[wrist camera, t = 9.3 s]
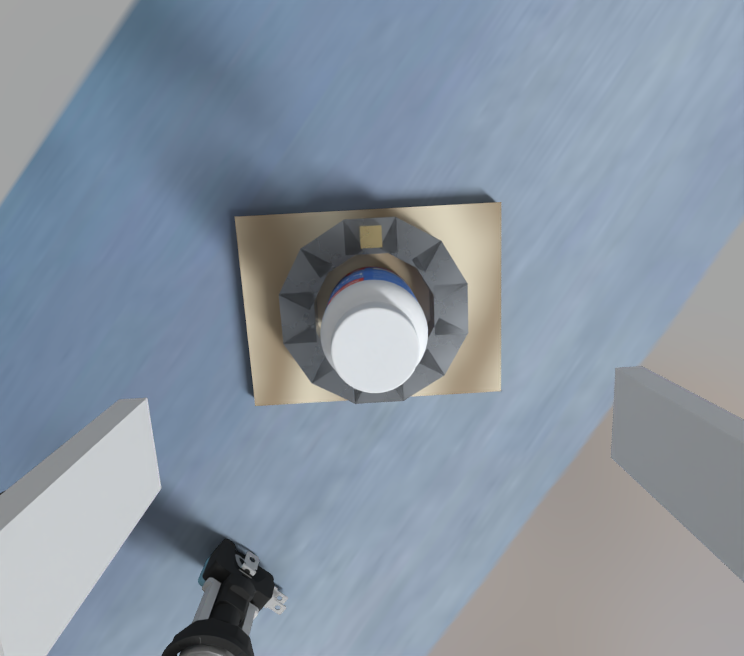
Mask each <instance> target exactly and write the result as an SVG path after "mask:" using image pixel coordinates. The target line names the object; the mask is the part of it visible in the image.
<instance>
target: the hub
mask: <svg viewBox="0 0 744 656" xmlns="http://www.w3.org/2000/svg"><path fill="white" fill-rule="evenodd" d="M381 253H389V254H391V255H393V256H395V257H397V258H398V259H400V260H402V261H404V262H406V263H408V264H410V265H412V266H414V267H415V268H416V270H417V271H418V273H419V275H420V276H421V278H422V279H423V281H424V282H425V284H426V286H427V287H428V289H429V303H430V320H429V322H428V324H427V326H428V341H427V346H426V350H425V352H424V355H423V357H422V359H421V360H420V362H419V364H418V365H417V366H416V368H415V370H414V372H413V373H412V375H411V376H410V377H409V378H408V379H407V380H406V381H405V382H404V383H403V384H402V385H400V386H399V387H397V388H395V389H393V390H390V391H387V392H382V393H368V392H363V391H360V390H357V389H355V388H353V387H351V386H350V385H348V384H347V383H346V382H345V381H344V380H343V379H342V378H341V377H340V376H339V375H338V373H337V372H336V371H335V370H334V369H333V367H332V366H331V365H330V363H329V362H328V360H327V358H326V356H325V354H324V352H323V348H322V345H321V336H320V331H321V328H320V327H319V321H318V308H317V294H318V292H319V290H320V288H321V286H322V284H323V282H324V280H325V278H326V276H327V274H328V273H329V272H330V271H332V270H333V269H335V268H336V267H338V266H339V265H341V264H342V263H344V262H345V261H347V260H348V259H350V258H351V257H353V256H354V255H363V254H381ZM279 303H280V314H281V325H282V335H283V344H284V345H285V347H286V348H287V350H288V351H289V352H290V354H291V355H292V357H293V358H294V359H295V361H296V362H297V364H298V365H299V366H300V368H301V369H302V371H303V372H304V373H305V375H306V376H307V378H308V379H309V380H310V382H311V383H312V384H314V385H316V386H319V387H321V388H323V389H325V390H327V391H329V392H331V393H333V394H336V395H338V396H340V397H342V398H344V399H346V400H348V401H351V402H353V403H355V404H359V403H376V402H392V401H404V400H406V399H407V398H409V397H411V396H412V395H414V394H415V393H417V392H419V391H420V390H422V389H423V388H425V387H427V386H428V385H430V384H431V383H433V382H435V381H436V380H438V379H440V378H441V377H443V376H445V374H446V372H447V370H448V368H449V367H450V365H451V363H452V361H453V359H454V358H455V356H456V354H457V352H458V351H459V349H460V347H461V345H462V343H463V342H464V340H465V338H466V336H467V334H468V333H469V332H468V283H467V282H466V280H465V278H464V277H463V275H462V274H461V272H460V270H459V269H458V267H457V265H456V264H455V262H454V260H453V259H452V257H451V256H450V254H449V252H448V251H447V249H446V247H445V246H444V244H443V242H442V241H441V240H439V239H437V238H435V237H433V236H431V235H429V234H428V233H426V232H424V231H422V230H420V229H418V228H416V227H414V226H412V225H410V224H408V223H406V222H405V221H403V220H401V219H399V218H397V217H394V216H393V217H377V218H358V219H344V220H343V221H341V222H340V223H338V224H337V225H335V226H334V227H332V228H331V229H329V230H328V231H326V232H325V233H323V234H322V235H320V236H319V237H317V238H316V239H314V240H313V241H311V242H310V243H308V244H307V245H305V246H303V247H302V248H301V249H300V251H299V253H298V255H297V257H296V259H295V261H294V263H293V265H292V268H291V270H290V272H289V274H288V276H287V278H286V280H285V282H284V284H283V286H282V289H281V291H280V293H279Z"/></svg>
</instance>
